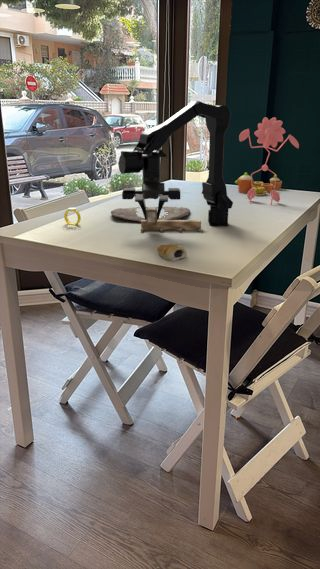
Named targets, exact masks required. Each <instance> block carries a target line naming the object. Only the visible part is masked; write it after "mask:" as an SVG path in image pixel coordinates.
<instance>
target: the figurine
mask: <svg viewBox="0 0 320 569" xmlns="http://www.w3.org/2000/svg"><path fill="white" fill-rule="evenodd" d="M282 125H283V121H282V120H277V117H274V116H273V117H272V118H270V119H269V118H268V117H266V116H265V117H263V119H262V122H259V123H258V124H257V130H256V131H254V135H255V137H257V140H256V141H257V143H258V144H262V145H257V146H253V145H252V141H251V136H250V133H251V132H250V128H247V129H244V130H242V131H241V132H240V134H239V136H238V140H239V142H244V141H245V140H246V139H248V141H249V146H250V148H251V149H254V148H255V149H257V148H258V149H259V148H264V149H265V150H266V151H267V153H268V155H267V157H266V161H265V164H262V166H261V168H260V169H258V170H255V171H253V172H252V173H251V174H250V177H251V183H252V179H253V175H254V174H256V173H258V172H260V171H261V170H262V171H264V172H266V171H269V172H271V173H272V174H274V175H276V178H278V175H277V174H276V173H275V172H274V171H272V170H271V169H269V166H268V165H267V163H268V160H269V157H270V155H271V152H270V150H272V151H273V152H277V153H278V151H279V150H280V149H281V148H282V147H283V146H284V144H285V143H286V142H287V141H288V140H289V142H290V143H291V145H293V146H294V148H296V149H299V148H300V147H299V146H300V143H299V141H298V140H297V139H296V138H295V137H294V136H293V135H292V134H288V136H287V138H286V139H285V140H284V136H283V135H284V134H285V133H287V132H286V130H285V129H284V128H283V127H282ZM278 142H279V143H281V145H280V146H279V147H278V148H277V149H276V147H277V146H278ZM270 146H271V147H272V148H271V147H270ZM268 149H269V150H268ZM275 184H276V179H275ZM269 194H270V198H269V197H266V199H269V200H270V203H269V204H270V206H272V204H273V200H274V201H275V202H277V203H279V202H280V200H281V197H280V196H281V195H280V193H278V191H277V190H275V185H274V190H271V192H270V193H269ZM255 195H256V190H255V189H253V185H252V189H250V190H249V191H248V193H246V196H247V197H246V198H247V200H249V204H251V202H252V200H253V199H257V196H255ZM286 206H287V205H286V204H285V205H284V207H286Z"/></svg>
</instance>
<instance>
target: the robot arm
mask: <svg viewBox="0 0 320 569" xmlns="http://www.w3.org/2000/svg"><path fill="white" fill-rule="evenodd" d="M196 117H200V118H203V119H205V125H206V128H207V131H208V133H209V146H208V147H209V148H208V152H209V153H208V177H207V179H206V181H205V182H204V181H203V182H202V184H201V186H202V191H201V194H202V196H203V199H204V200H205V201H206V204H207V206H209V209H208V211H207V214H208V215H207V223H208V224H209V226H212V227H213V226H216V227H217V226H218V227H220V226H222V227H226V226H229V210H230V209H232V207H233V204H234V202H233V201H232V199H231V198H230V197H229V196H228V190H227V185H226V183H225V180H224V173H223V172H224V152H225V148H224V147H225V133H226V132H227V130H228V128H229V125H230V120H231V110H230V109H229V108H228V107H227V105H224V104H223V105H222V104H221V105H219V104H218V105H217V104H213V105H212V104H208V103H205V102H202V101H200V100H199V101H198V100H196V101H195V100H193V101H190V102H189V103H188V104H187V105H186V106H184V107H183V108H182V109H180V110H179V111H178V112H176V113H175V114H173V115H172V116H171V117H170V118H168V119H167V120H165V121H164V122H162V123H160V124H158V125H155V126H153V127H150V128H148V129H146V130H144V131H142V132H141V133H140V135H139V141H138V142H137V144H136V145H135V147H134V149H133V150H132V151H131V150H130V151H127V150H122V151H120V156H119V158H118V161H117V164H118V170H119V172H120V174H122V175H126V174H139V173H141V171H142V184H141V190H137V189H136V187H125V188H124V189H123V190H122V192H121V196H122V198H121V199H122V200H133V199H134V202H135V203H138V205H139V206H140V207H141V208H140V209H141V211H142V214H143V218H145V220H146V207H147V206H146V200H148V199H150V200H151V199H153V200H157V199H158V206H157V207H158V208H157V220H158V219H159V216H161V213H162V210H163V209H162V207H164V205H165V203H168V202H169V199H170V200H176V201H177V200H178V201H179V200H181V188H179V187H168V190H165V182H161V158H166V157H168V155H167V154H166V152H164V151H163V149H162V147H163V146H164V145H165V144H167V142H168V141H169V138H170V137H172V135H174V133H175V132H177V131H179V130H180V129H181V128H183V127H184V126H186V125H187V124H188V123H189V122H191V121H192V120H194V119H195V118H196Z"/></svg>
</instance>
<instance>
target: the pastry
mask: <svg viewBox="0 0 320 569" xmlns="http://www.w3.org/2000/svg"><path fill="white" fill-rule="evenodd" d="M156 251H157V253H158V254H159V256H160V257H161V258H162V259H164V260H165V261H169V262H174V261H179V260H182V259H185V257H187V251H186V249H185V248H184V247H183V246H180V245H178V244H171V243H169V244H161V245H159V246H158V247H157V249H156Z"/></svg>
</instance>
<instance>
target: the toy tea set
mask: <svg viewBox="0 0 320 569" xmlns="http://www.w3.org/2000/svg"><path fill="white" fill-rule="evenodd" d="M276 175H277V174H276ZM276 175H275V174H274V175H273V177H271V178H270V179H269V183H264V182H263V181H254V179H253V178H252V183H251V175H249V174H248V172H244V174H243V175H241V176H240V177H238V178H237V180H235V181H234V184H237V189H238V190H237V191H238V193H240V194H247V193H248V191H249V190H250V189H252V185H253V189H255V190H256V195H255V196H254V197H262V196H265V195H266V194H270V192H271V190H274V185H275V191H281V187H282V184H283V181H282V180H280V178H278V177H277V178H276ZM275 179H276V184H275Z"/></svg>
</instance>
